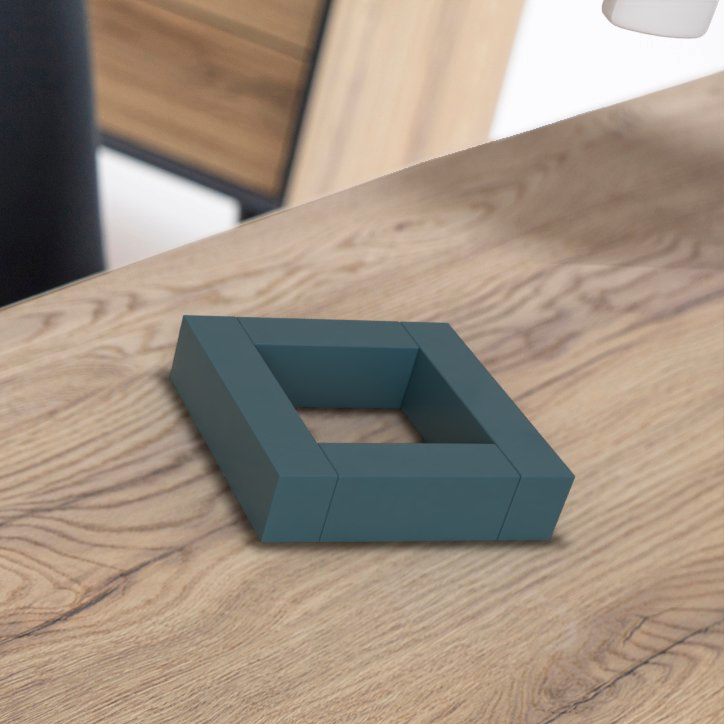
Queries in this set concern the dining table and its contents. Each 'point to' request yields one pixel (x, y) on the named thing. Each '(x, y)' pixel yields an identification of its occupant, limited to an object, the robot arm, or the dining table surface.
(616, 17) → the eye dropper bottle
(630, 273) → the dining table surface
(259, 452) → the frame
